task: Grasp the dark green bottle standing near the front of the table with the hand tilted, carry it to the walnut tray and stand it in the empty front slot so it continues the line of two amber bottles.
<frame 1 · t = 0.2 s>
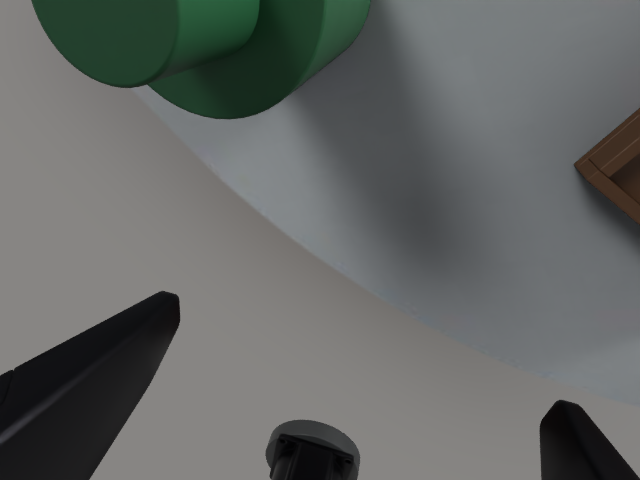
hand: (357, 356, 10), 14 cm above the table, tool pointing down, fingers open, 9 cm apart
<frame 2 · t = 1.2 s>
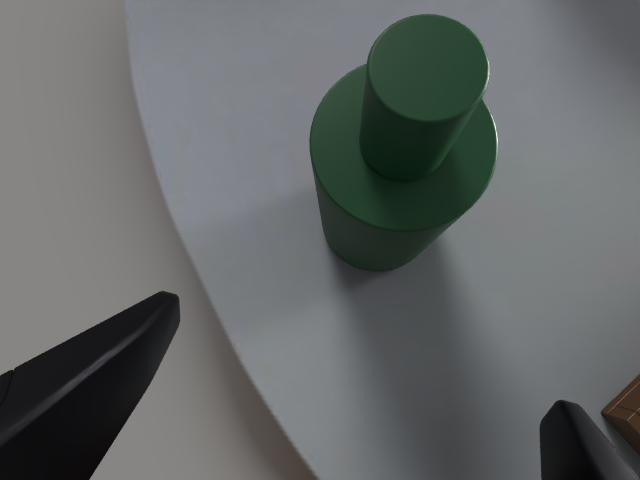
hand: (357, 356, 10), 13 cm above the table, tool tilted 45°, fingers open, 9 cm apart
green bottle: (376, 216, 24), on the table
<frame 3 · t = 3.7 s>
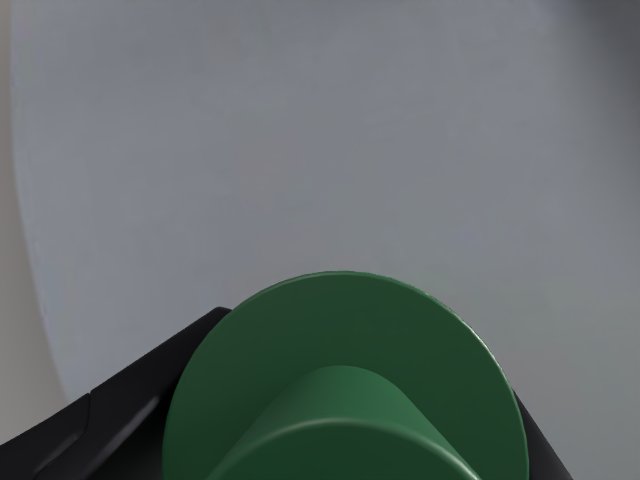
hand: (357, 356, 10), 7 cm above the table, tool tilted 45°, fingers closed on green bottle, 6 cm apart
green bottle: (340, 377, 17), on the table, touching gripper
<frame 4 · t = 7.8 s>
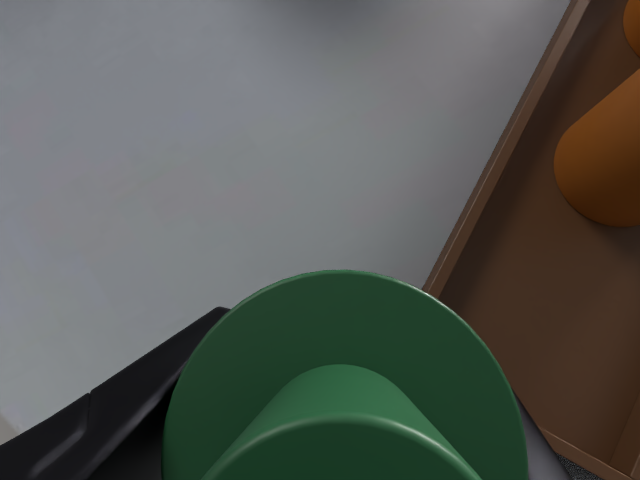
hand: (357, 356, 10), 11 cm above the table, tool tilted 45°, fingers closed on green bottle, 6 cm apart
tray: (612, 164, 22), on the table
green bottle: (340, 377, 17), point 4 cm above the table, touching gripper
amber bottle 1: (614, 168, 22), resting on tray
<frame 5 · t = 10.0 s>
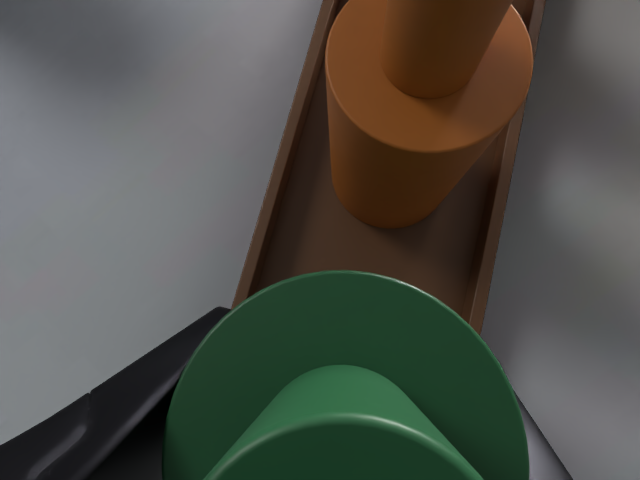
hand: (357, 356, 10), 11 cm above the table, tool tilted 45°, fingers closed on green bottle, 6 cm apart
tray: (390, 166, 23), on the table
green bottle: (340, 377, 17), point 4 cm above the table, touching gripper
amber bottle 1: (389, 172, 22), resting on tray
when the fingers open (8 cm above the table, at t = 11.7 s): green bottle stays where it is, resting on tray.
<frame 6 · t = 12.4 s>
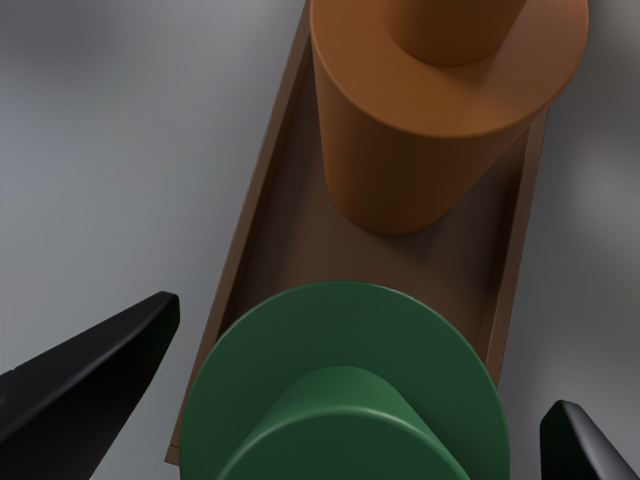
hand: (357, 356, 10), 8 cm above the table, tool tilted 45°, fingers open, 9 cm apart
tray: (393, 163, 20), on the table
green bottle: (340, 377, 18), resting on tray
amber bottle 1: (392, 169, 19), resting on tray
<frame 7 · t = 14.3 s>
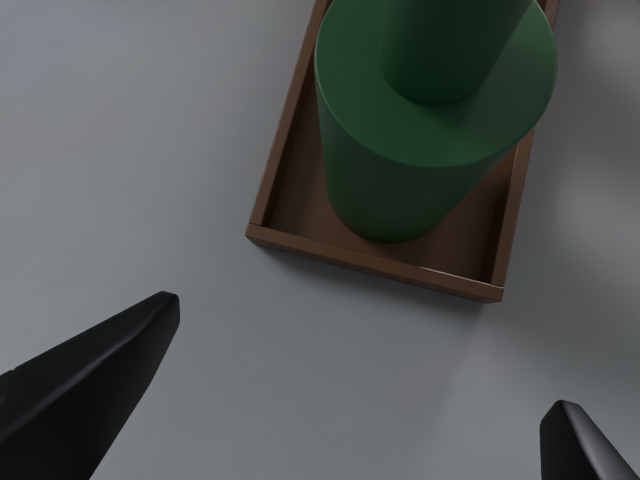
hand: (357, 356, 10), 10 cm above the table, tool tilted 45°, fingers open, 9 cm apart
tray: (430, 14, 23), on the table
green bottle: (389, 181, 20), resting on tray
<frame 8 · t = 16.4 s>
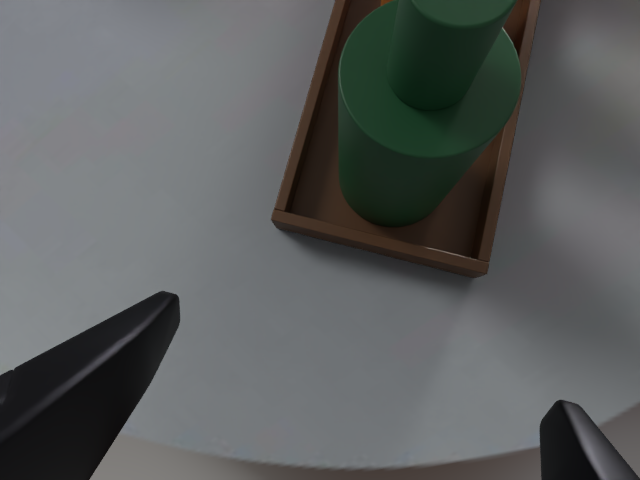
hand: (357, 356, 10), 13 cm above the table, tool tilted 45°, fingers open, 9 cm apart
tray: (428, 30, 26), on the table
green bottle: (392, 175, 24), resting on tray
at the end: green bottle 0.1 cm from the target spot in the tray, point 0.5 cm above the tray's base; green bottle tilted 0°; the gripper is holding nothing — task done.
